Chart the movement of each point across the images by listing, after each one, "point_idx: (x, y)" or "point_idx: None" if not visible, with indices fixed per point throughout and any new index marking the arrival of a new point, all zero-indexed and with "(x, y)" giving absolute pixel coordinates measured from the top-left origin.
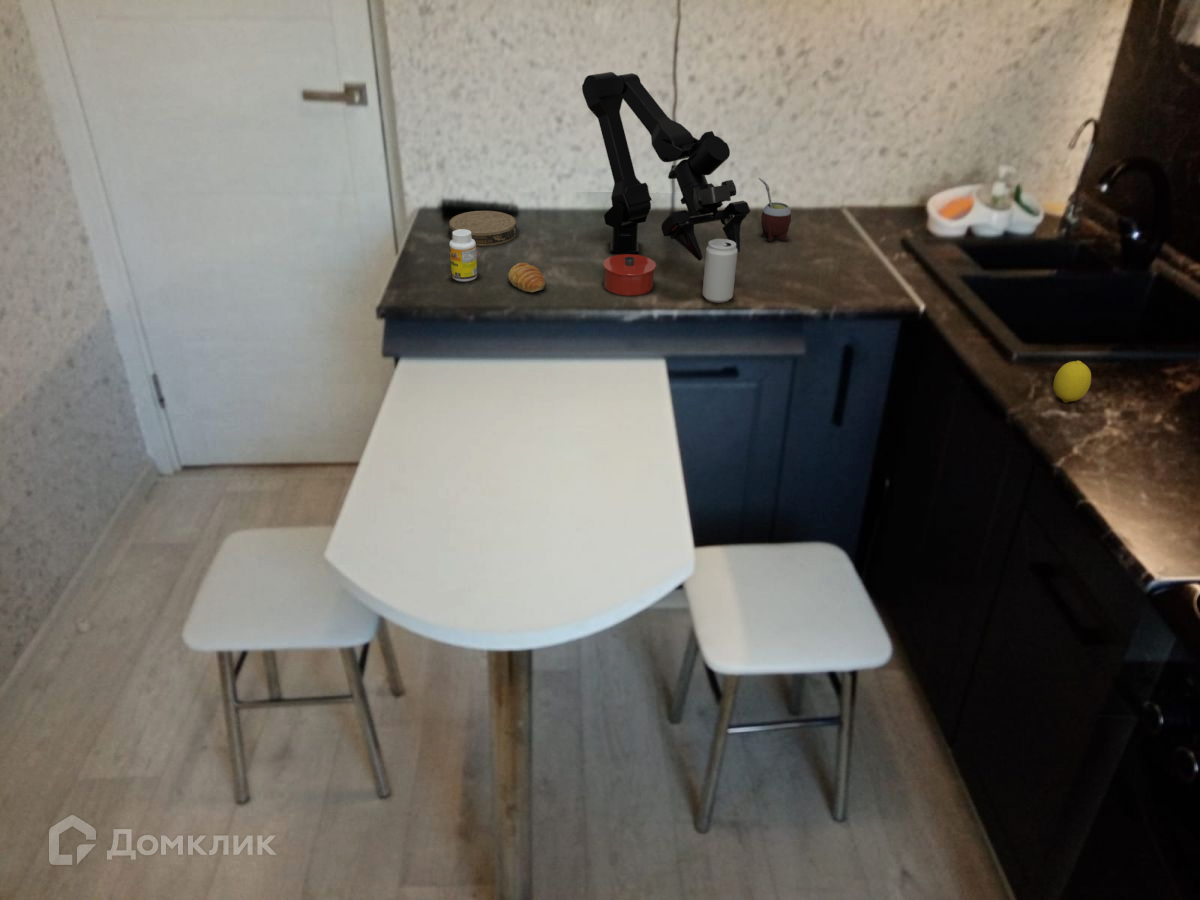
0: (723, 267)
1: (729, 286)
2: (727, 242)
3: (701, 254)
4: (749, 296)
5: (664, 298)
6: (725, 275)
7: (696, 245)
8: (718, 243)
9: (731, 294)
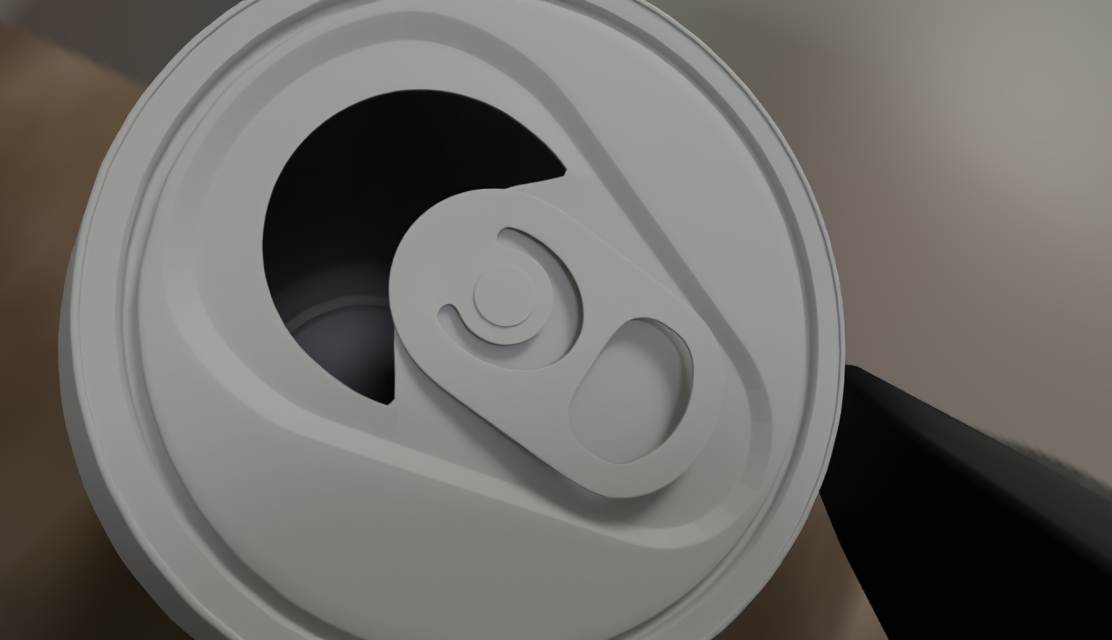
0: (523, 133)
1: (353, 216)
2: (296, 361)
3: (868, 389)
4: (11, 314)
5: (801, 575)
6: (452, 169)
7: (1062, 495)
8: (577, 401)
9: (298, 260)
